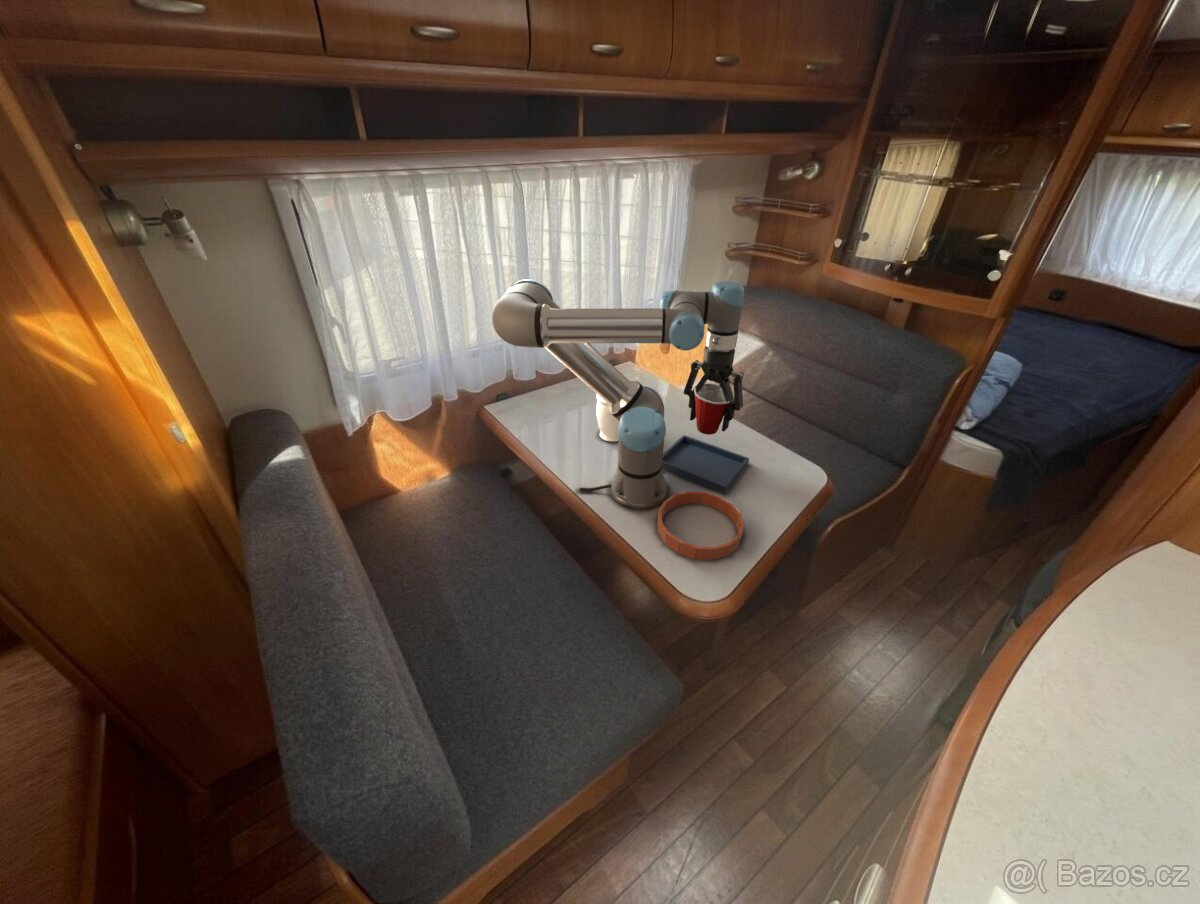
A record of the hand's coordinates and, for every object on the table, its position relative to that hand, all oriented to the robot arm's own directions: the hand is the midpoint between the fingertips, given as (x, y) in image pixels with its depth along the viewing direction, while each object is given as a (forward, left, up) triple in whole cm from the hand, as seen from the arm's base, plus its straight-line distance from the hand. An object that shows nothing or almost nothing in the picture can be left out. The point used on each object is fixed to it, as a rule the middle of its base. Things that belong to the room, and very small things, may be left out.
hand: (708, 423), depth 133 cm
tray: (0, 0, -15) cm, 15 cm away
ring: (-4, -26, -15) cm, 31 cm away
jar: (-27, +16, -15) cm, 35 cm away
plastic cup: (0, 0, -2) cm, 2 cm away
